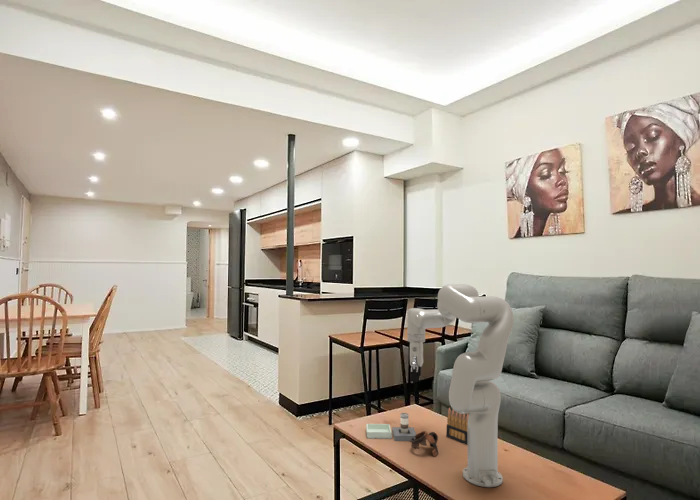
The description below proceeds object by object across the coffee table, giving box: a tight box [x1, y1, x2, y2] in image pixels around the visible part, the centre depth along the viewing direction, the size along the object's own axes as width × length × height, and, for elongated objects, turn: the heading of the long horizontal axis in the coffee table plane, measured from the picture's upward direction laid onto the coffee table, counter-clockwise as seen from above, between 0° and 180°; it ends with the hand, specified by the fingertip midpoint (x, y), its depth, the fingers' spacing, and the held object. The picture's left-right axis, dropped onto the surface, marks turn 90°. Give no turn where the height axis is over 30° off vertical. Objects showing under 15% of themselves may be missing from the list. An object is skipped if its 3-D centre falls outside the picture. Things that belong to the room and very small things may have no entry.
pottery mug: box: [410, 430, 439, 458], centre depth 155 cm, size 12×10×8 cm
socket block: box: [391, 426, 417, 442], centre depth 168 cm, size 9×9×2 cm
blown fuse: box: [399, 412, 409, 434], centre depth 168 cm, size 3×3×9 cm
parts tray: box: [365, 423, 393, 440], centre depth 170 cm, size 9×10×2 cm
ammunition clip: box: [445, 407, 470, 446], centre depth 165 cm, size 11×2×12 cm, turn 40°
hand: (415, 378), depth 172 cm, fingers open, 9 cm apart
